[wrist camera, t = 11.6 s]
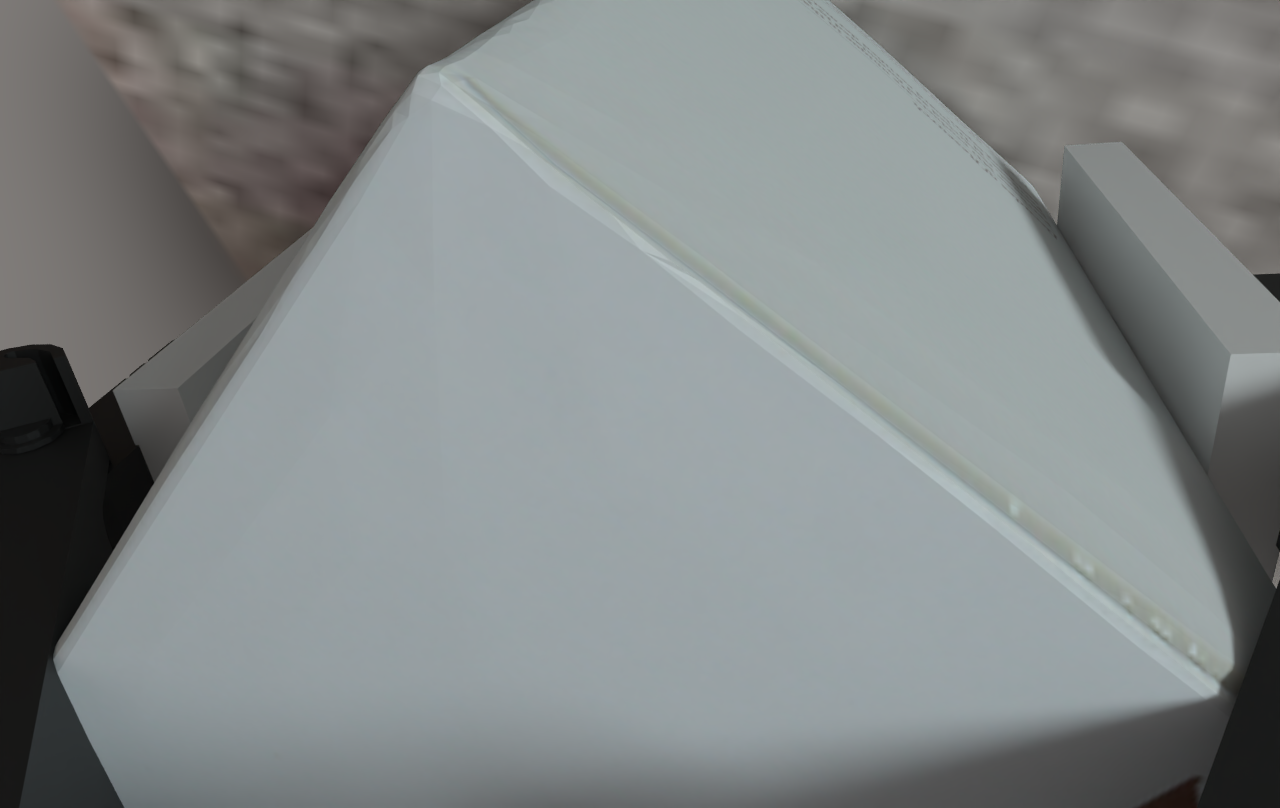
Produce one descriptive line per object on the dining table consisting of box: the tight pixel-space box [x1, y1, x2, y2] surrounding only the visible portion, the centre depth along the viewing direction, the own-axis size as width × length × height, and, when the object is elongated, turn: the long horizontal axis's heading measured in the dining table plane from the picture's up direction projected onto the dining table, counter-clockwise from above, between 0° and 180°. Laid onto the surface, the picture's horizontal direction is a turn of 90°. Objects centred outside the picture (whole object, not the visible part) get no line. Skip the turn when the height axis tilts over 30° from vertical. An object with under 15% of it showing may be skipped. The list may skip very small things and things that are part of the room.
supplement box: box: [53, 0, 1276, 808], centre depth 12 cm, size 7×7×13 cm
